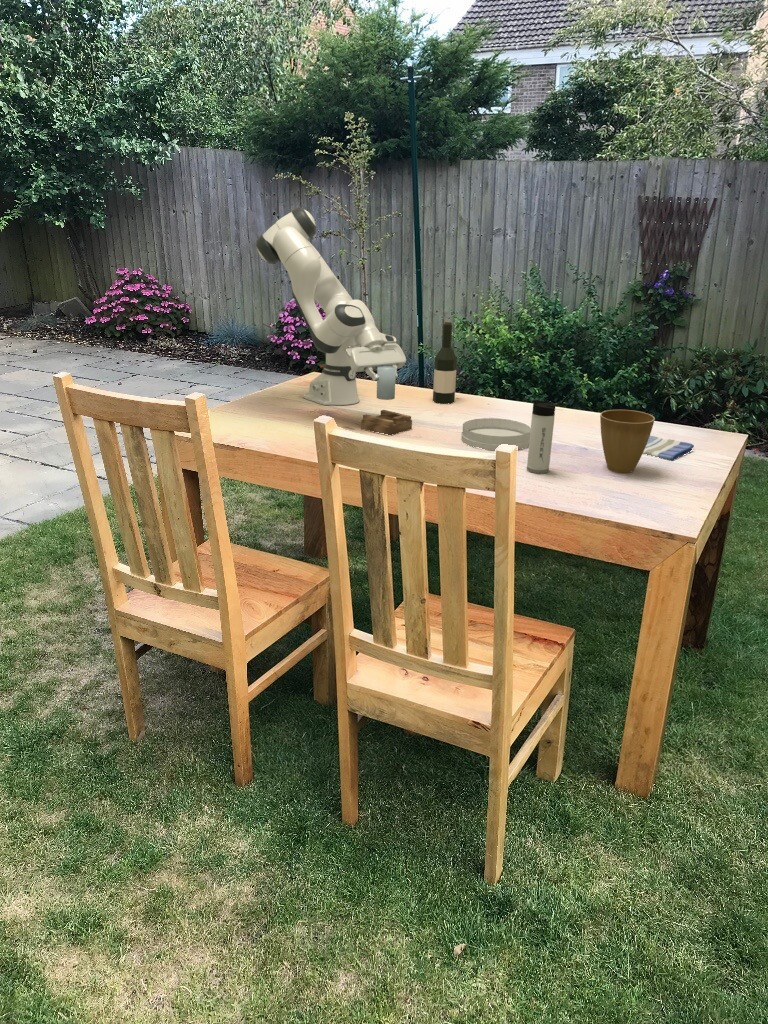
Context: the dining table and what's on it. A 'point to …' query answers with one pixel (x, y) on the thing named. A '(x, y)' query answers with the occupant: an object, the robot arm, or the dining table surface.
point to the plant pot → (624, 438)
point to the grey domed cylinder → (386, 382)
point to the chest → (387, 422)
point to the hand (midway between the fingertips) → (385, 379)
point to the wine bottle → (445, 369)
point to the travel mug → (541, 436)
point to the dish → (495, 433)
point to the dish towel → (666, 448)
